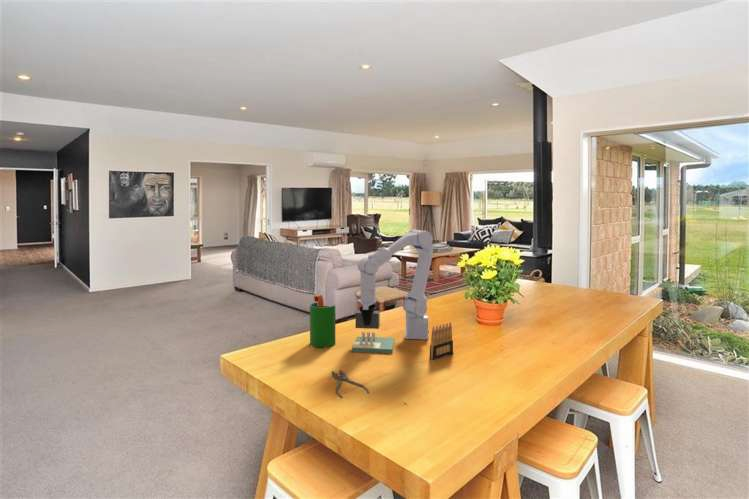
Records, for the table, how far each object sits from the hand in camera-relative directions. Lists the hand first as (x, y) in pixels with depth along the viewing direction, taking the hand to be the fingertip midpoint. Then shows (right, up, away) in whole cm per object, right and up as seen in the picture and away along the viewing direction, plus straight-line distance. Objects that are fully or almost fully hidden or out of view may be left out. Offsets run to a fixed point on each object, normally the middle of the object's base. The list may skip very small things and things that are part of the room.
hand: (367, 323), depth 179 cm
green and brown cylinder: (-18, -9, +2) cm, 20 cm away
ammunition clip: (+27, -10, -11) cm, 31 cm away
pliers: (-7, -14, -36) cm, 39 cm away
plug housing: (0, -1, 0) cm, 1 cm away
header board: (+2, -9, -1) cm, 9 cm away
